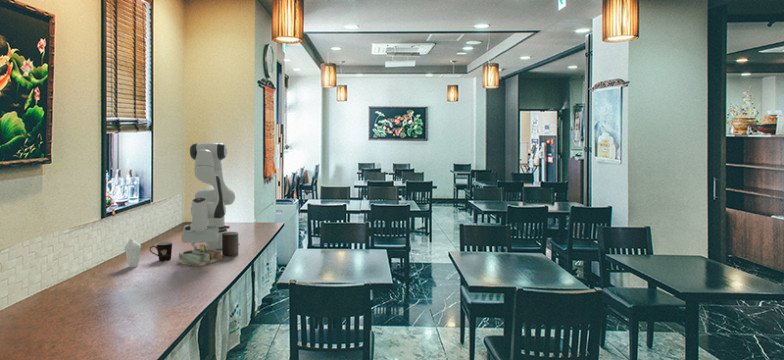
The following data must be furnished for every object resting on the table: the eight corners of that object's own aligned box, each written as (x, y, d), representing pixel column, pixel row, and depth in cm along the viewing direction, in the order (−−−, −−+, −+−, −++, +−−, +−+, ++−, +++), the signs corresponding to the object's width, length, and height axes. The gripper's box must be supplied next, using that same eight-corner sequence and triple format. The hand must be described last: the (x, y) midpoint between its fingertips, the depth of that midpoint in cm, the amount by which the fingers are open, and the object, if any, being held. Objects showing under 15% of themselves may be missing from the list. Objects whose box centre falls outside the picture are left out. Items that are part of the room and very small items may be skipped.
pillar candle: (223, 257, 284) (223, 233, 282) (221, 253, 292) (220, 230, 291) (239, 255, 288) (239, 232, 287) (237, 252, 297) (237, 229, 295)
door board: (204, 256, 286) (204, 245, 285) (221, 260, 277) (221, 249, 277) (179, 262, 271) (178, 251, 271) (196, 266, 263) (196, 255, 262)
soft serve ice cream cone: (145, 265, 265) (144, 237, 263) (132, 269, 257) (131, 240, 256) (134, 263, 268) (132, 236, 266) (121, 267, 260) (120, 239, 258)
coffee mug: (175, 258, 281) (175, 241, 280) (167, 261, 272) (167, 245, 271) (157, 257, 282) (157, 241, 281) (149, 261, 274) (148, 244, 273)
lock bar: (201, 249, 279) (200, 241, 279) (207, 248, 280) (207, 240, 280) (198, 254, 268) (198, 245, 267) (205, 253, 269) (205, 245, 268)
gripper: (220, 224, 273) (220, 247, 274) (183, 225, 270) (184, 248, 271) (217, 227, 266) (218, 250, 268) (180, 227, 263) (180, 251, 265)
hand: (200, 249), depth 269 cm, fingers open, 4 cm apart
